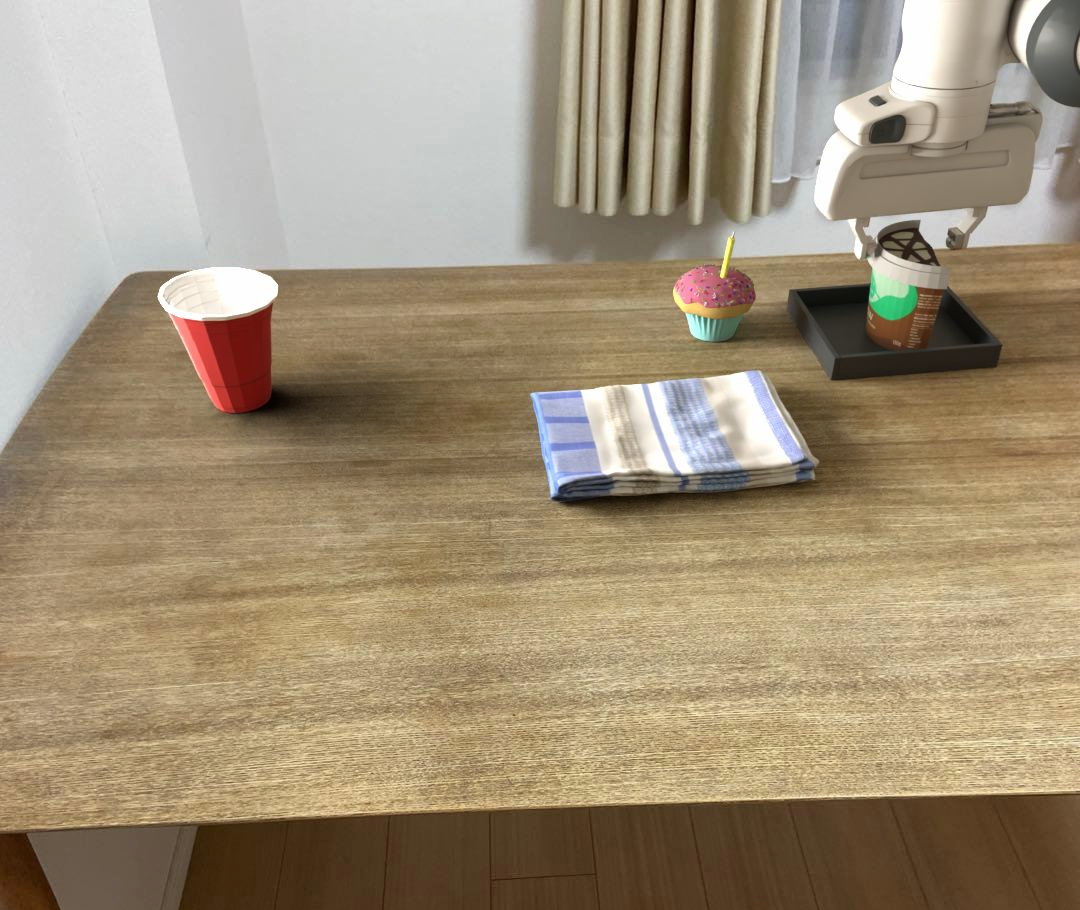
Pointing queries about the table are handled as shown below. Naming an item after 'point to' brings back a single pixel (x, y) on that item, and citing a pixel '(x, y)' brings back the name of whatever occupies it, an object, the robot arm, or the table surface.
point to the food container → (904, 288)
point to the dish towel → (670, 438)
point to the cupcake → (715, 298)
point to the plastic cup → (226, 332)
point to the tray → (850, 353)
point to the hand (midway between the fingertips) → (909, 252)
